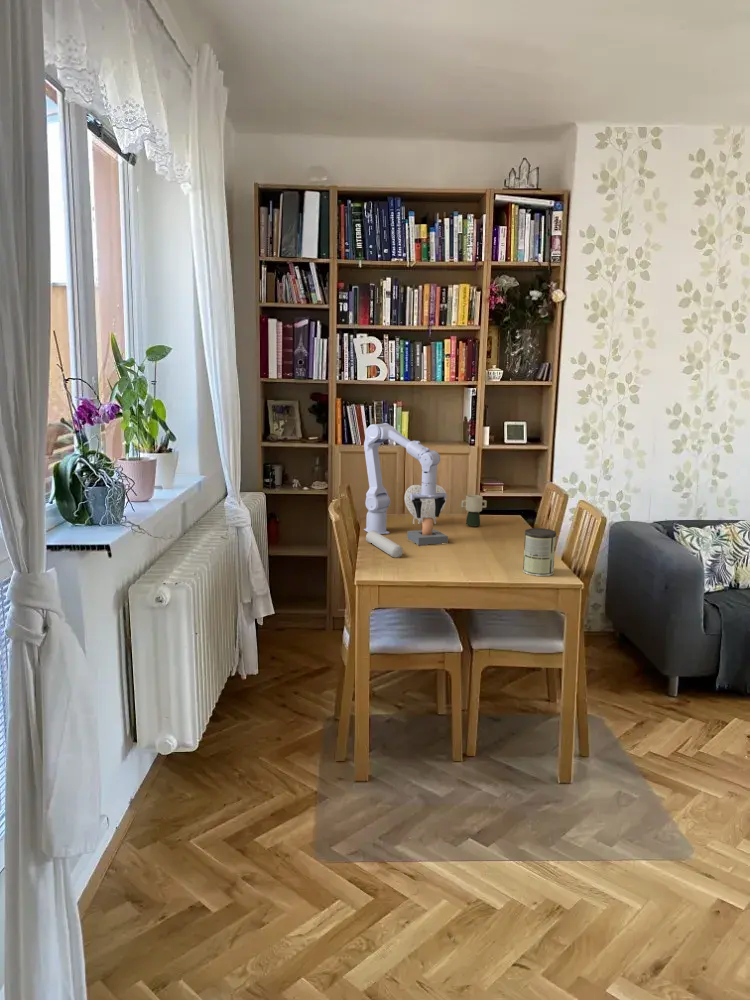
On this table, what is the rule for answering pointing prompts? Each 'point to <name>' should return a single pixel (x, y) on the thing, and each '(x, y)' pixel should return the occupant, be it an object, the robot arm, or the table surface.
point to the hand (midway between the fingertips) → (427, 517)
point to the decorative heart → (424, 503)
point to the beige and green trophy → (473, 509)
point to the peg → (427, 526)
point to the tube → (384, 543)
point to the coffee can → (539, 552)
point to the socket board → (427, 537)
